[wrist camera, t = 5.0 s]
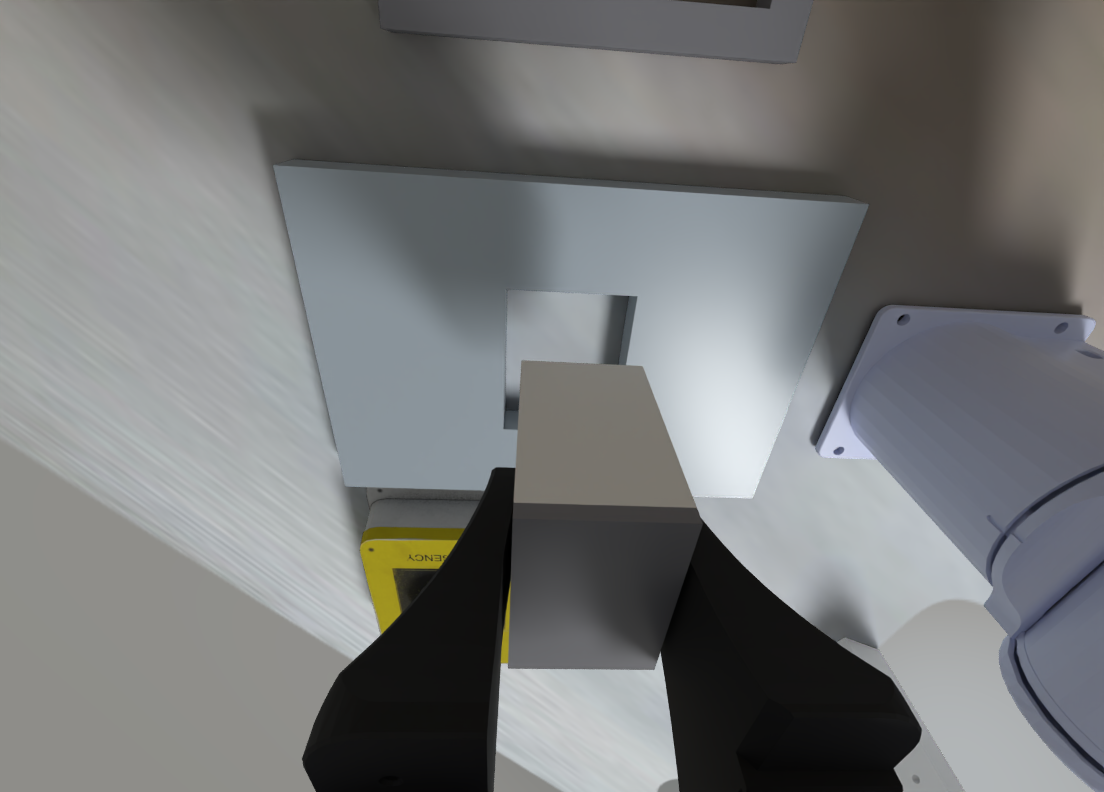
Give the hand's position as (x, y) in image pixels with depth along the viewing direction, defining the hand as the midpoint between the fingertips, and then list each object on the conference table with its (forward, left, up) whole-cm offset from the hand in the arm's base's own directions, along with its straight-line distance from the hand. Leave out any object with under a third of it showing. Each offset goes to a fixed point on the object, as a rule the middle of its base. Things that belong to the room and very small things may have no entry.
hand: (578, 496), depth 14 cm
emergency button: (+5, +15, -10) cm, 19 cm away
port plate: (0, 0, -9) cm, 9 cm away
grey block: (0, -1, -2) cm, 2 cm away
